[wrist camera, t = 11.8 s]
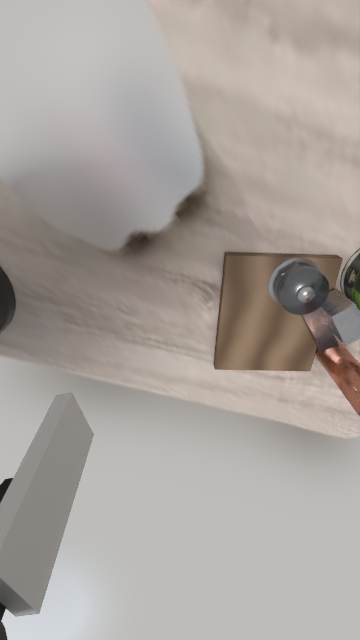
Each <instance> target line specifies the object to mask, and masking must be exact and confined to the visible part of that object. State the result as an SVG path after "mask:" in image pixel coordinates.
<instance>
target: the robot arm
mask: <svg viewBox="0 0 360 640" xmlns="http://www.w3.org/2000/svg"><path fill="white" fill-rule="evenodd" d="M14 311H15V297H14V292H13V289H12V286H11V284H10V282H9V280H8V278H7V276H6V275H5V273H4V272H3V270H2V269H1V268H0V333H1V332H2V331H3V330H4V329H5V328H6V327H7V326H8V324H9V323H10V321H11V320H12V318H13V315H14ZM93 435H94V434H93V432H92V430H91V428H90V426H89V424H88V422H87V420H86V418H85V417H84V415H83V413H82V411H81V409H80V407H79V405H78V403H77V402H76V400H75V398H74V396H73V394H72V393H67V394H62V395H57V396H56V397H55V399H54V401H53V402H52V404H51V406H50V408H49V410H48V412H47V414H46V416H45V418H44V420H43V422H42V424H41V426H40V428H39V430H38V432H37V434H36V435H35V438H34V439H33V441H32V443H31V445H30V447H29V449H28V451H27V453H26V455H25V457H24V458H23V460H22V462H21V465H20V466H19V468H18V470H17V472H16V474H15V476H14V478H10V479H5V480H4V481H3V483H2V484H1V485H0V640H7V636H6V631H5V627H4V625H3V623H2V622H1V620H2V617H3V614H4V612H5V609H7V610H9V611H10V612H11V613H12V614H13V615H14V616H23V615H32V614H39V612H40V609H41V606H42V602H43V599H44V596H45V593H46V589H47V586H48V583H49V580H50V576H51V573H52V569H53V567H54V563H55V560H56V557H57V553H58V550H59V547H60V543H61V540H62V537H63V534H64V530H65V527H66V524H67V521H68V517H69V514H70V511H71V507H72V504H73V501H74V498H75V494H76V491H77V488H78V485H79V481H80V478H81V475H82V471H83V468H84V465H85V462H86V458H87V455H88V451H89V449H90V445H91V442H92V439H93Z"/></svg>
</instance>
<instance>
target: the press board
mask: <svg viewBox="0 0 360 640" xmlns="http://www.w3.org/2000/svg"><path fill="white" fill-rule="evenodd" d="M295 261H296V262H297V263H299V262H302V263H307V264H310V265H311V266H313V267H314V268H315V269H317V270H318V271H319V272H321V273H322V274H323V275H324V276H325V277H326V278H327V280H328V282H329V292H330V291H332V290H334V287H335V284H336V280H337V277H338V273H339V270H340V266H341V263H342V258H341V257H339V256H337V255H303V254H266V253H230V252H225V258H224V268H223V277H222V287H221V297H220V307H219V317H218V327H217V337H216V347H215V356H214V368H215V369H221V370H275V371H310V370H311V367H312V363H313V360H314V356H315V353H316V349H317V344H316V342H315V340H314V338H313V336H312V334H311V332H310V331H309V329H308V327H307V325H306V323H305V321H304V319H303V317H302V315H295V314H292V313H290V312H288V311H287V310H285V309H284V307H283V306H282V305H281V303H280V302H279V301H278V299H277V298H276V296H275V294H274V291H273V285H274V281H275V278H276V276H277V275H278V273H279V272H278V271H279V270H281V269H283V268H285V267H286V266H288V265H290V264H291V263H293V262H295Z"/></svg>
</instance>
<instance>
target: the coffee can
mask: <svg viewBox="0 0 360 640" xmlns="http://www.w3.org/2000/svg"><path fill="white" fill-rule="evenodd" d="M341 289H342V293H343V295H345V296H346V297H347V298H348V299H350V300H351V301H352V302H353V303H355V304H356V306H357V308H358V309H359V310H360V249H359V250H358V251H357V252H356V253H355V254H354V255H353V256H352V257H351V258H350V260H349V261H348V263H347V264H346V266H345V268H344V270H343V273H342V277H341Z"/></svg>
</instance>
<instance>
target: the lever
mask: <svg viewBox="0 0 360 640" xmlns="http://www.w3.org/2000/svg"><path fill="white" fill-rule="evenodd" d="M278 272H279V273H278V275H277V276H276V278H275V281H274V285H273V291H274V294H275V296H276V298H277V299H278V301H279V302H280V303H281V305H282V306H283V307H284V309H285V310H287V311H288V312H290V313H292V314H295V315H302V317H303V319H304V321H305V323H306V325H307V327H308V329H309V331H310V332H311V334H312V336H313V338H314V340H315V342H316V344H317V346H318V348H319V350H318V353H317V357H318V359H319V361H320V362H321V364H322V365H323V366H324V368H325V369H326V371H327V372H328V373H329V375H330V376H331V377H332V379H333V380H334V382H335V383H336V384H337V386H338V387H339V389H340V390H341V391H342V393H343V394H344V395H345V397H346V398H347V400H348V401H349V402H350V404H351V405H352V407H353V408H354V409H355V411H356V412H357V414H358V415H360V363H359V362H358V361H357V360H356V359H355V358H354V356H353V355H352V354H351V353H350V352H349V351H348V350H347V349H346V348H345V347H344V346H343V344H344V345H345V346H346V345H348V344H350V343H352V342H354V341H356V340H358V339H360V313H359V311H358V309H357V306H356V304H355V303H353V302H352V301H351V300H350V299H348V298H347V297H346V296H345V295H343V294H342V293H341V292H339V291H338V290H337V289H334V290H332V291H330V292H329V282H328V280H327V278H326V277H325V276H324V275H323V274H322V273H321V272H319V271H318V270H317V269H315V268H314V267H313V266H311V265H310V264H307V263H302V262H299V263H297V262H296V261H295V262H293V263H291V264H290V265H288V266H286V267H285V268H283V269H281V270H279V271H278ZM332 332H333V333H334V334H335V335H336V336H337V337H338V339H339V340H340V341H341V342H342V343H343V344H341V343H340V342H337V341H336V339H335V337H334V335H333V333H332Z"/></svg>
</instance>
